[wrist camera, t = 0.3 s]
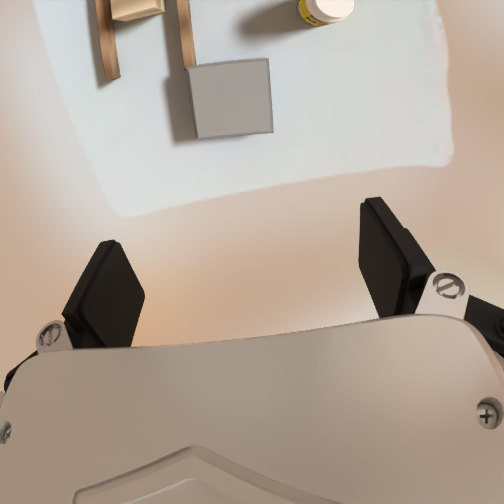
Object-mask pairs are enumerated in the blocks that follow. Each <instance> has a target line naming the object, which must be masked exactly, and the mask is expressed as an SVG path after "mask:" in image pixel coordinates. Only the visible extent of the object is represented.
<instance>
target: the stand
mask: <svg viewBox="0 0 504 504" xmlns="http://www.w3.org/2000/svg"><path fill="white" fill-rule="evenodd" d="M186 69H187V76H188V84H189V91H190V98H191V106H192V113H193V119H194V126H195V133H196V140H202V139H211V138H220V137H229V136H240V135H252V134H266V133H274V131H273V114H272V99H271V85H270V71H269V58H255V59H242V60H231V61H222V62H214V63H206V64H199V65H194V66H189V67H186Z"/></svg>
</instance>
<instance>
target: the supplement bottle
mask: <svg viewBox="0 0 504 504" xmlns="http://www.w3.org/2000/svg"><path fill="white" fill-rule="evenodd" d="M353 7H354V1H353V0H299V2H298V4H297V11H298V14H299V16H300V17H301V19H302V20H303V21H304V22H306V23H307V24H310V25H312V26H325V25H328V24H332V23H336V22H339V21H341V20H343V19H344V18H346V16H347V15H348V14H350V13H351V11H352V9H353Z"/></svg>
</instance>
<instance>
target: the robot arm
mask: <svg viewBox="0 0 504 504" xmlns="http://www.w3.org/2000/svg"><path fill="white" fill-rule="evenodd" d="M358 261H359V268H360V271H361V273H362V275H363V278H364V280H365V282H366V285H367V288H368V290H369V292H370V295H371V297H372V300H373V303H374V305H375V308H376V310H377V313H378V315H379V319H373V320H367V321H361V322H355V323H350V324H344V325H338V326H331V327H325V328H319V329H312V330H305V331H298V332H291V333H284V334H276V335H269V336H260V337H251V338H243V339H233V340H223V341H212V342H203V343H202V342H201V343H189V344H176V345H160V346H141V347H131V344H132V340H133V336H134V332H135V329H136V326H137V322H138V319H139V316H140V313H141V309H142V306H143V303H144V299H145V294H144V290H143V288H142V286H141V285H140V283H139V281H138V279H137V277H136V275H135V273H134V271H133V269H132V267H131V265H130V263H129V261H128V259H127V257H126V255H125V253H124V251H123V248H122V246H121V244H120V243H118V242H116V241H115V240H108V241H103V242H101V243H100V244H99V245H98V247H97V249H96V251H95V252H94V254H93V256H92V257H91V259H90V261H89V263H88V265H87V266H86V268H85V270H84V272H83V273H82V275H81V277H80V279H79V281H78V283H77V285H76V286H75V288H74V290H73V292H72V294H71V296H70V298H69V300H68V302H67V304H66V306H65V308H64V310H63V312H62V315H63V317H64V318H65V321H64V323H63V322H62V321H60V320H55V321H51V322H50V323H48V324H46V325H45V326H44V327H43V328H42V329H41V330H40V332H39V334H38V336H37V339H36V346H37V350H36V351H35V352H34V353H33V354H31V355H30V356H29V357H27V358H26V359H25V360H24V361H22V362H21V363H20V364H19V365H17V366H16V367H15V368H14V369H13V370H11V371H10V372H9V373H8V374H7V376H6V380H5V383H4V390H5V393H3V392H2V391H1V392H0V504H504V309H502V308H499V307H497V306H495V305H492V304H490V303H488V302H486V301H483V300H481V299H479V298H476V297H474V296H471V295H469V292H470V289H469V285H468V282H467V281H466V280H465V278H464V277H463V276H461V275H460V274H458V273H456V272H454V271H451V270H438V271H436V270H435V268H434V267H433V265H432V264H431V262H430V261H429V259H428V258H427V256H426V255H425V253H424V252H423V250H422V249H421V247H420V246H419V244H418V243H417V241H416V240H415V239H414V237H413V236H412V234H411V233H410V232H409V230H408V229H407V228H403V226H402V225H401V223H400V222H399V221H398V219H397V218H396V217H395V215H394V214H393V212H392V211H391V210H390V208H389V207H388V206H387V204H386V203H385V202H384V201H383V199H382V198H381V197H373V198H366V199H365V203H361V205H360V239H359V260H358Z"/></svg>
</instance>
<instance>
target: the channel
mask: <svg viewBox="0 0 504 504" xmlns="http://www.w3.org/2000/svg"><path fill="white" fill-rule="evenodd" d="M95 2H96V13H97V22H98V30H99V38H100V46H101V53H102V59H103V66H104V72H105V78H106V81H108V80H112V79H115V78H119V77H120V70H119V64H118V58H117V51H116V44H115V36H114V28H113V19H112V11H111V0H95ZM177 9H178V18H179V27H180V36H181V44H182V52H183V60H184V68H185V71H187V69H186V67H189V66H194V65H196V59H195V51H194V42H193V33H192V24H191V15H190V6H189V0H177Z"/></svg>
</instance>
